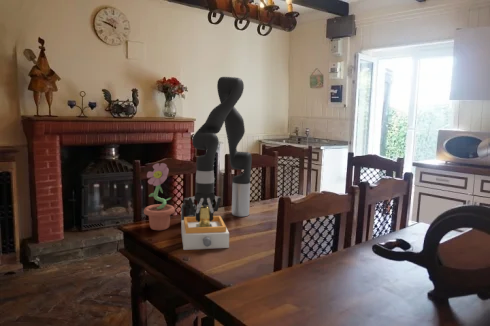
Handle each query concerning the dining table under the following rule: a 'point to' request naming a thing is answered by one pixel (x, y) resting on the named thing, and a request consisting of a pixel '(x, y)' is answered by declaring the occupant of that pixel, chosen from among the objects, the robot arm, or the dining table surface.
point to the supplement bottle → (187, 209)
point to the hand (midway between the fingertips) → (204, 220)
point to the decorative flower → (158, 212)
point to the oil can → (204, 216)
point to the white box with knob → (204, 234)
